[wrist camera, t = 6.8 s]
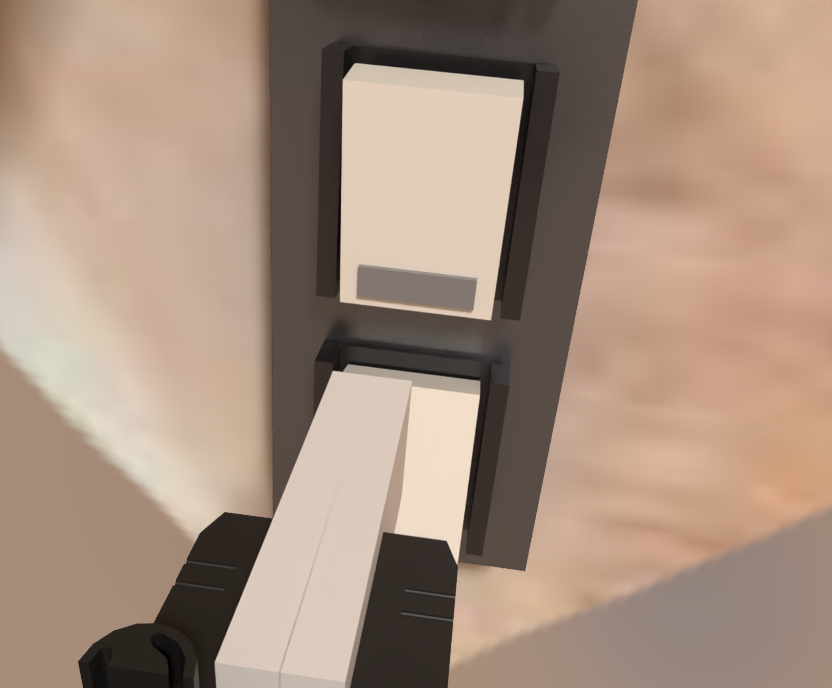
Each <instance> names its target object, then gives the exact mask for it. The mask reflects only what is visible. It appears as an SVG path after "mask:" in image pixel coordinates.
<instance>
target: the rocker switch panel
mask: <svg viewBox="0 0 832 688" xmlns="http://www.w3.org/2000/svg"><path fill="white" fill-rule="evenodd" d="M637 2H638V0H270V94H271V248H272V403H273V518H274V515H275V513H276V510H277V508H278V505H279V503H280V500H281V498H282V495H283V493H284V491H285V488H286V486H287V483H288V481H289V478H290V476H291V473H292V471H293V468H294V466H295V463H296V461H297V459H298V456H299V454H300V451H301V449H302V446H303V444H304V441H305V439H306V436H307V434H308V431H309V429H310V426H311V424H312V422H313V419H314V417H315V414H316V412H317V409H318V407H319V404H320V402H321V399H322V397H323V394H324V392H325V390H326V387H327V385H328V382H329V380H330V377H331V375H332V372H333V371H337V372H343V371H344V370H345V368H346V367H347V365H348V364H350V365H358V366H366V367H374V368H381V369H389V370H397V371H405V372H413V373H421V374H429V375H437V376H444V377H452V378H460V379H468V380H476V381H480V399H479V406H478V414H477V421H476V429H475V436H474V444H473V452H472V459H471V467H470V474H469V482H468V489H467V497H466V505H465V512H464V520H463V527H462V535H461V542H460V550H459V558H458V562H465V563H472V564H479V565H486V566H493V567H500V568H507V569H514V570H521V571H525V569H526V564H527V559H528V553H529V548H530V543H531V538H532V533H533V528H534V523H535V518H536V513H537V508H538V503H539V498H540V493H541V488H542V483H543V478H544V472H545V467H546V462H547V457H548V452H549V447H550V442H551V437H552V432H553V427H554V422H555V417H556V412H557V407H558V402H559V397H560V391H561V386H562V381H563V376H564V371H565V366H566V361H567V356H568V351H569V346H570V341H571V336H572V331H573V326H574V321H575V315H576V310H577V305H578V300H579V295H580V290H581V285H582V280H583V275H584V270H585V265H586V260H587V255H588V250H589V245H590V240H591V234H592V229H593V224H594V219H595V214H596V209H597V204H598V199H599V194H600V189H601V184H602V179H603V174H604V169H605V164H606V159H607V153H608V148H609V143H610V138H611V133H612V128H613V123H614V118H615V113H616V108H617V103H618V98H619V93H620V88H621V83H622V78H623V72H624V67H625V62H626V57H627V52H628V47H629V42H630V37H631V32H632V27H633V22H634V17H635V12H636V7H637ZM354 63H359V64H369V65H378V66H388V67H398V68H408V69H417V70H427V71H437V72H447V73H456V74H466V75H476V76H485V77H495V78H505V79H515V80H524V93H523V105H522V112H521V118H520V125H519V132H518V139H517V146H516V153H515V159H514V166H513V173H512V180H511V187H510V194H509V200H508V207H507V214H506V221H505V228H504V235H503V241H502V248H501V255H500V262H499V269H498V276H497V283H496V289H495V296H494V303H493V310H492V317H491V320H484V319H476V318H468V317H460V316H451V315H443V314H435V313H427V312H419V311H410V310H402V309H394V308H386V307H378V306H369V305H361V304H353V303H345V302H340V259H341V183H342V107H343V79H344V78H345V76H346V75H347V73H348V72H349V70H350V69H351V68H352V66H353V65H354Z"/></svg>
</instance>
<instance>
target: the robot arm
mask: <svg viewBox="0 0 832 688" xmlns="http://www.w3.org/2000/svg"><path fill="white" fill-rule="evenodd" d="M411 389H412V381H409V380H401V379H393V378H385V377H377V376H369V375H361V374H353V373H345V372H337V371H333V372H332V375H331V377H330V380H329V382H328V385H327V387H326V390H325V392H324V394H323V397H322V399H321V402H320V404H319V407H318V409H317V412H316V414H315V417H314V419H313V422H312V424H311V426H310V429H309V431H308V434H307V436H306V439H305V441H304V444H303V446H302V449H301V451H300V454H299V456H298V459H297V461H296V463H295V466H294V468H293V471H292V473H291V476H290V478H289V481H288V483H287V486H286V488H285V491H284V493H283V495H282V498H281V500H280V503H279V505H278V508H277V510H276V513H275V515H274V518H273V519H271V518H264V517H256V516H249V515H242V514H235V513H227V512H224V513H223V514H222V515H221V516H220V517H218V518H217V519H216V520H215V521H214V522H213V523H211V524H210V525H209V526H208V527H207V528H205V529H204V530H203V531H202V532H201V533H200V534H199V536H198V538H197V540H196V542H195V544H194V546H193V548H192V550H191V552H190V554H189V556H188V558H187V562H186V564H184V565H183V567H182V569H181V571H180V573H179V575H178V577H177V579H176V583H175V586H173V587H172V589H171V590H170V593H169V594H168V596H167V599H166V600H165V602H164V604H163V606H162V608H161V610H160V612H159V614H158V616H157V618H156V620H155V622H154V623H151V624H150V623H149V624H134V625H131V626H128V627H125V628H121V629H118V630H115V631H113V632H111V633H109V634H108V635H106V636H105V637H103V638H102V639H100V640H99V641H97V642H96V643H94V644H93V645H92V646H91V647H90V648H89V649H88V651H87V652H86V653H85V654H84V655H83V656H82V658H81V659H80V660H79V661H78V663H79V669H80V674H81V679H82V684H83V688H448V676H449V664H450V653H451V641H452V629H453V618H454V606H455V595H456V583H457V571H458V566H457V564H456V561H455V559H454V557H453V554H452V552H451V550H450V547H449V545H448V543H447V541H445V540H438V539H430V538H423V537H416V536H409V535H401V534H394V533H395V528H396V523H397V517H398V512H399V507H400V502H401V497H402V488H403V477H404V466H405V455H406V444H407V433H408V422H409V411H410V400H411Z"/></svg>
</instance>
